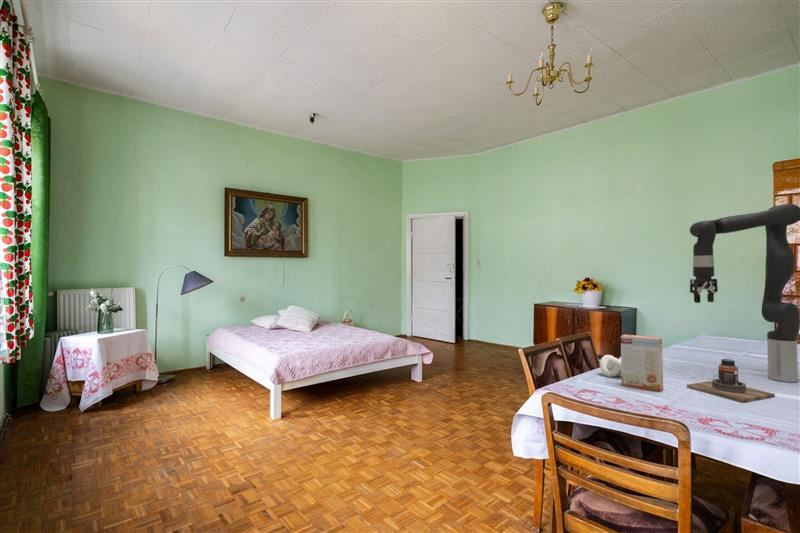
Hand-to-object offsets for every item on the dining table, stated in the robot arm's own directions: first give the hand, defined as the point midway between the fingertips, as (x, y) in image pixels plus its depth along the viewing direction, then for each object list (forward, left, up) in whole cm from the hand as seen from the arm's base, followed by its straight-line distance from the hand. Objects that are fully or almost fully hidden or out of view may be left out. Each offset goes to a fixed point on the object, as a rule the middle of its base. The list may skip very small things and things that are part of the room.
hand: (704, 302), depth 177 cm
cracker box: (+39, +1, -33) cm, 51 cm away
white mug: (+35, -15, -33) cm, 51 cm away
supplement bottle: (+14, +18, -32) cm, 39 cm away
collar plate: (+14, +18, -33) cm, 40 cm away
